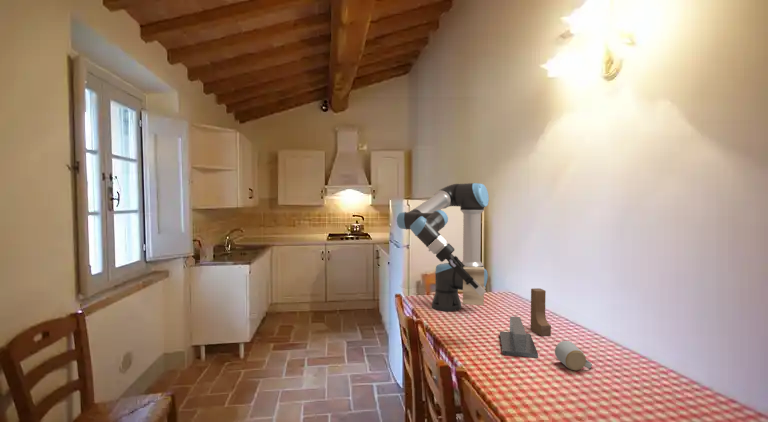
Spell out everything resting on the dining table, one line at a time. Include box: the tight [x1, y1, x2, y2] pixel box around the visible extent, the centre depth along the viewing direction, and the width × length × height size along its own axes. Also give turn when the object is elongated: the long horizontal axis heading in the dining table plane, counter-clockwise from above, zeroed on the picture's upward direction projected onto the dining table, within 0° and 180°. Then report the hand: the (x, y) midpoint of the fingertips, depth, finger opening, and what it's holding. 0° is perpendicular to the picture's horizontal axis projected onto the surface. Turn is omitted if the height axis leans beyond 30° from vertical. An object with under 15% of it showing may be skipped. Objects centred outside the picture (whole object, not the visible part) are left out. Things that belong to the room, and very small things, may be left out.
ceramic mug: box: [554, 340, 593, 372], centre depth 133 cm, size 11×8×8 cm
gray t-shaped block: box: [499, 316, 539, 359], centre depth 152 cm, size 22×12×8 cm, turn 166°
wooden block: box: [530, 287, 552, 337], centre depth 167 cm, size 9×4×18 cm, turn 7°
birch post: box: [462, 266, 485, 306], centre depth 155 cm, size 5×8×14 cm, turn 76°
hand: (483, 291), depth 155 cm, fingers closed on birch post, 5 cm apart
